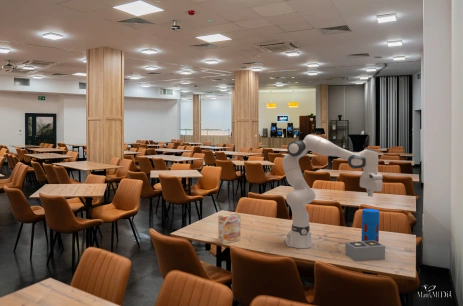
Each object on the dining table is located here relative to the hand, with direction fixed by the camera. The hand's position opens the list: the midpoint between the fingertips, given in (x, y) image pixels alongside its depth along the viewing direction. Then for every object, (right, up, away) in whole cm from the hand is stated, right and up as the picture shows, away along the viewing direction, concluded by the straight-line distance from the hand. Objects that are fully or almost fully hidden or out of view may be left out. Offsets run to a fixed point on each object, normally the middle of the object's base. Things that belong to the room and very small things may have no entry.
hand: (370, 196), depth 234 cm
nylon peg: (-9, -37, -4) cm, 39 cm away
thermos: (+6, -36, +17) cm, 41 cm away
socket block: (-4, -38, -3) cm, 38 cm away
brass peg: (0, -37, -2) cm, 37 cm away
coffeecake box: (-89, -36, +29) cm, 100 cm away
